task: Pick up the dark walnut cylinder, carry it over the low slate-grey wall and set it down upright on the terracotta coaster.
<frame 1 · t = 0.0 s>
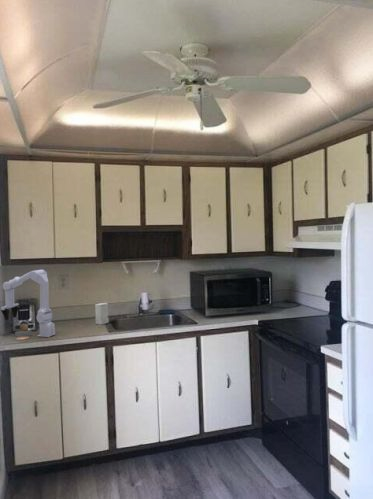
hand: (10, 318, 280), 10 cm above the worktop, tool pointing down, fingers open, 7 cm apart
walnut cylinder: (24, 333, 278), on the worktop
low wall: (23, 335, 272), on the worktop
coaster: (22, 338, 265), on the worktop
skincare box: (102, 323, 303), on the worktop
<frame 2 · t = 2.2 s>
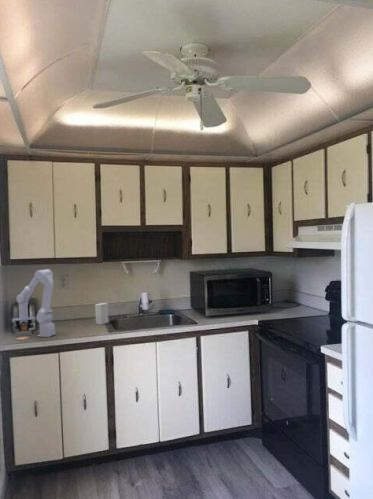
hand: (24, 331, 278), 1 cm above the worktop, tool pointing down, fingers closed on walnut cylinder, 5 cm apart
walnut cylinder: (24, 333, 278), on the worktop, touching gripper
everything else where it was.
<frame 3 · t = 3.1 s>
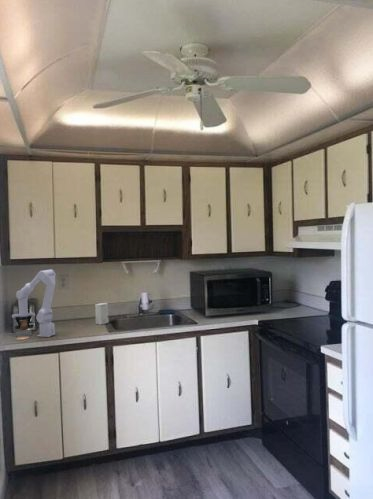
hand: (24, 327, 278), 4 cm above the worktop, tool pointing down, fingers closed on walnut cylinder, 5 cm apart
walnut cylinder: (24, 329, 278), point 3 cm above the worktop, touching gripper
everything else where it was.
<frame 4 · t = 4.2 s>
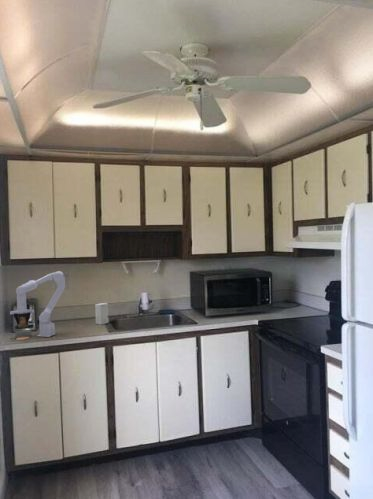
hand: (22, 324, 268), 8 cm above the worktop, tool pointing down, fingers closed on walnut cylinder, 5 cm apart
walnut cylinder: (22, 326, 268), point 7 cm above the worktop, touching gripper
everything else where it was.
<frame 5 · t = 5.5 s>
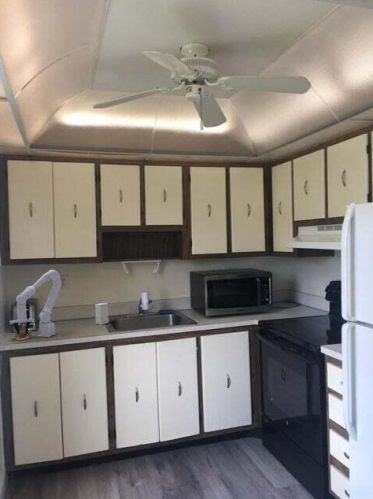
hand: (22, 333, 265), 3 cm above the worktop, tool pointing down, fingers closed on walnut cylinder, 5 cm apart
walnut cylinder: (22, 336, 265), point 1 cm above the worktop, touching gripper
everything else where it was.
when the fingers open (3 cm above the worktop, at t = 6.5 s): walnut cylinder stays where it is, resting on coaster.
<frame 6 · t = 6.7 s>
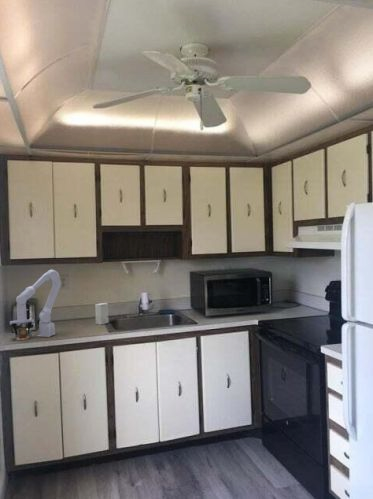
hand: (22, 334, 265), 3 cm above the worktop, tool pointing down, fingers open, 7 cm apart
walnut cylinder: (22, 337, 265), resting on coaster
everything else where it was.
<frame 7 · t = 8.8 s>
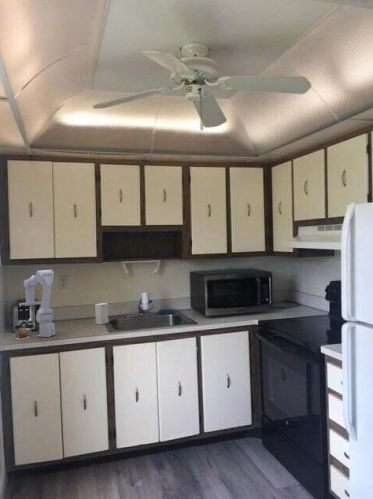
hand: (30, 315, 286), 10 cm above the worktop, tool pointing down, fingers open, 7 cm apart
nothing on the worktop moved.
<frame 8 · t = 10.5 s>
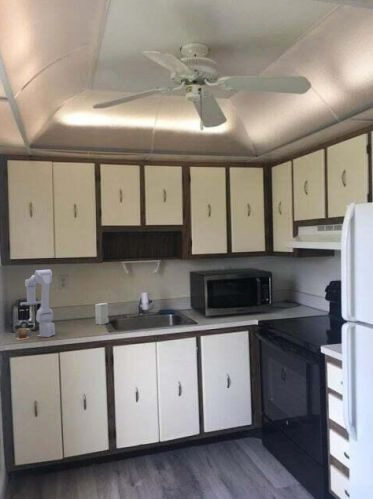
hand: (32, 314, 289), 10 cm above the worktop, tool pointing down, fingers open, 7 cm apart
nothing on the worktop moved.
at the end: walnut cylinder 0.2 cm off-centre on the coaster, point 0.4 cm above the coaster's base; walnut cylinder tilted 1°; walnut cylinder touching coaster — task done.
